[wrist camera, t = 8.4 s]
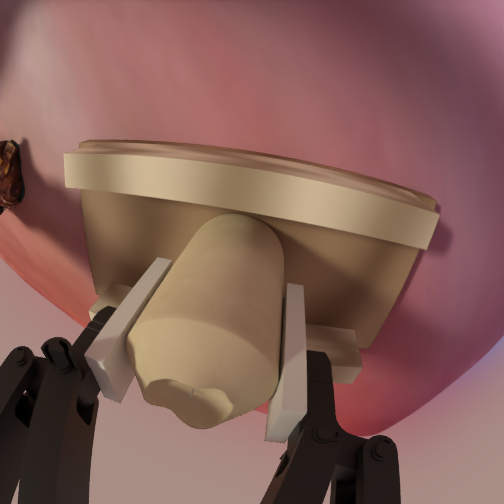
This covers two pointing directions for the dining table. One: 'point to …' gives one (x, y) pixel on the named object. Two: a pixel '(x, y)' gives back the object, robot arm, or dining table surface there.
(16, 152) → the figurine
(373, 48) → the dining table surface
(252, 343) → the candle
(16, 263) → the dining table surface
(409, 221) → the rack
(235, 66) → the dining table surface
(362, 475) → the robot arm
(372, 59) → the dining table surface
